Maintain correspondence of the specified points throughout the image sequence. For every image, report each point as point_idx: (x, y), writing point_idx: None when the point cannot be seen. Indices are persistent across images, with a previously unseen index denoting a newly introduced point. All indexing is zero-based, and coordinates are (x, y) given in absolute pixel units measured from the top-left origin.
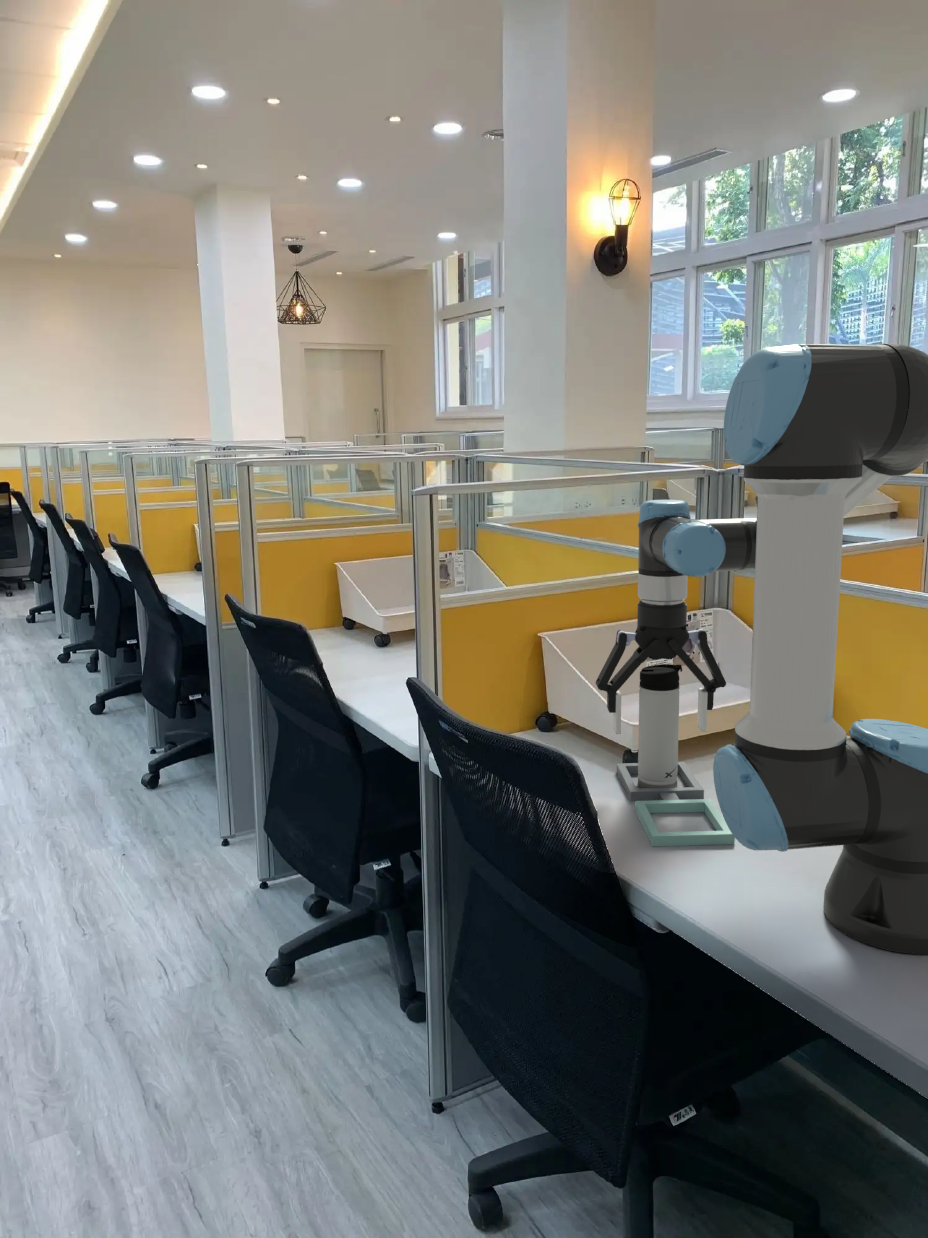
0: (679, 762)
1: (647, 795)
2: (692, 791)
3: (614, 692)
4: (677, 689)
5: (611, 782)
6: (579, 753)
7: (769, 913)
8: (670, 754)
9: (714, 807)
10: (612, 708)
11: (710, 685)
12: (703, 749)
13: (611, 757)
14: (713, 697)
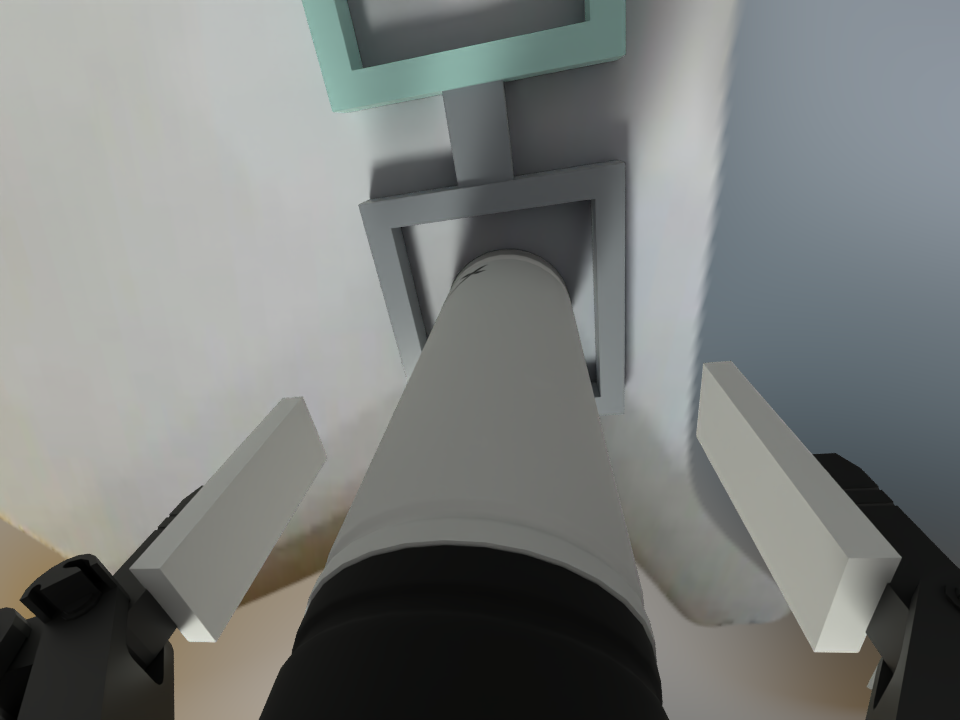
0: None
1: (557, 171)
2: (397, 197)
3: (937, 584)
4: (317, 584)
5: (651, 323)
6: (698, 514)
7: None
8: (456, 304)
9: (311, 13)
10: (833, 476)
11: (65, 625)
12: None
13: None
14: (138, 549)
